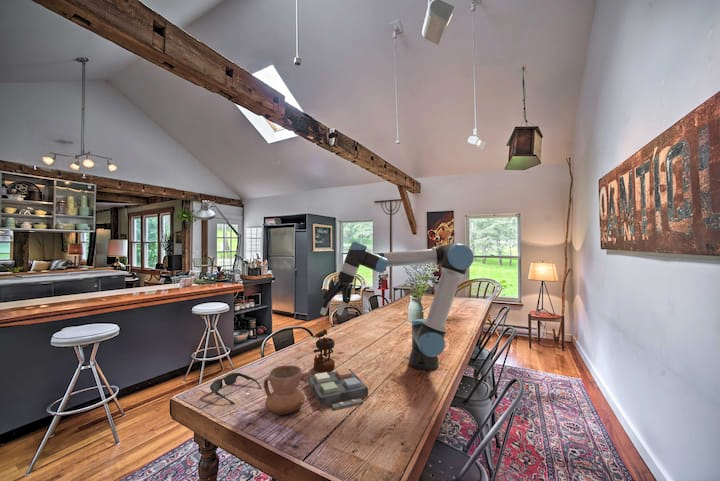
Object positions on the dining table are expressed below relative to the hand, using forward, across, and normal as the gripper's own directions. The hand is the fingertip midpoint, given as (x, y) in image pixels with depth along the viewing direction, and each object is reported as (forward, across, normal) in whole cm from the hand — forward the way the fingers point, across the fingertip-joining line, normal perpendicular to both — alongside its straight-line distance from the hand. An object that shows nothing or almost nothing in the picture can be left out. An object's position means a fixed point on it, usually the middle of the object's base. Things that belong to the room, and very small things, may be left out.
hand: (330, 314), depth 141 cm
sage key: (+24, +12, +20) cm, 33 cm away
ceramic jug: (+33, +25, +12) cm, 43 cm away
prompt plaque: (+23, +12, +30) cm, 40 cm away
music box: (+28, -12, +2) cm, 31 cm away
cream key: (+25, +6, +12) cm, 29 cm away
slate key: (+20, +4, +25) cm, 33 cm away
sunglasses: (+42, +26, -13) cm, 51 cm away
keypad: (+25, +4, +20) cm, 32 cm away
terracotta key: (+22, -2, +17) cm, 28 cm away
